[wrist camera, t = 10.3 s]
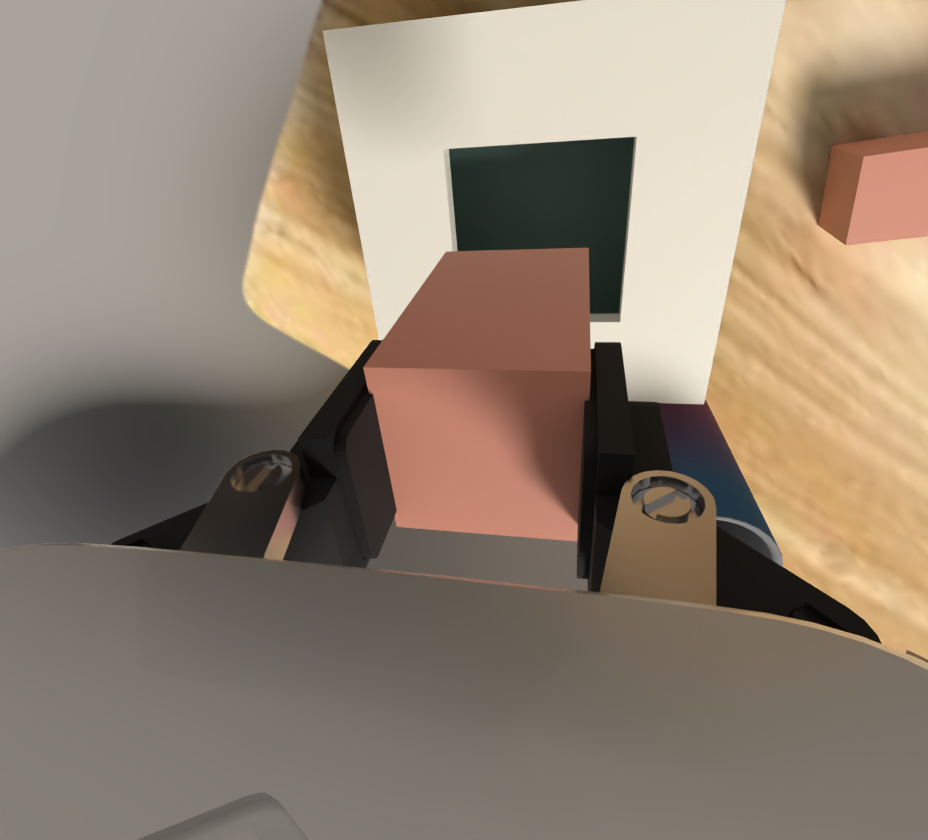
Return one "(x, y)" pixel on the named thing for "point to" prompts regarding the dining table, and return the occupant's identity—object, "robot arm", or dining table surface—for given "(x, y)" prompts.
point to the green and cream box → (565, 157)
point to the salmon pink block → (488, 394)
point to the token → (877, 189)
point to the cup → (716, 473)
